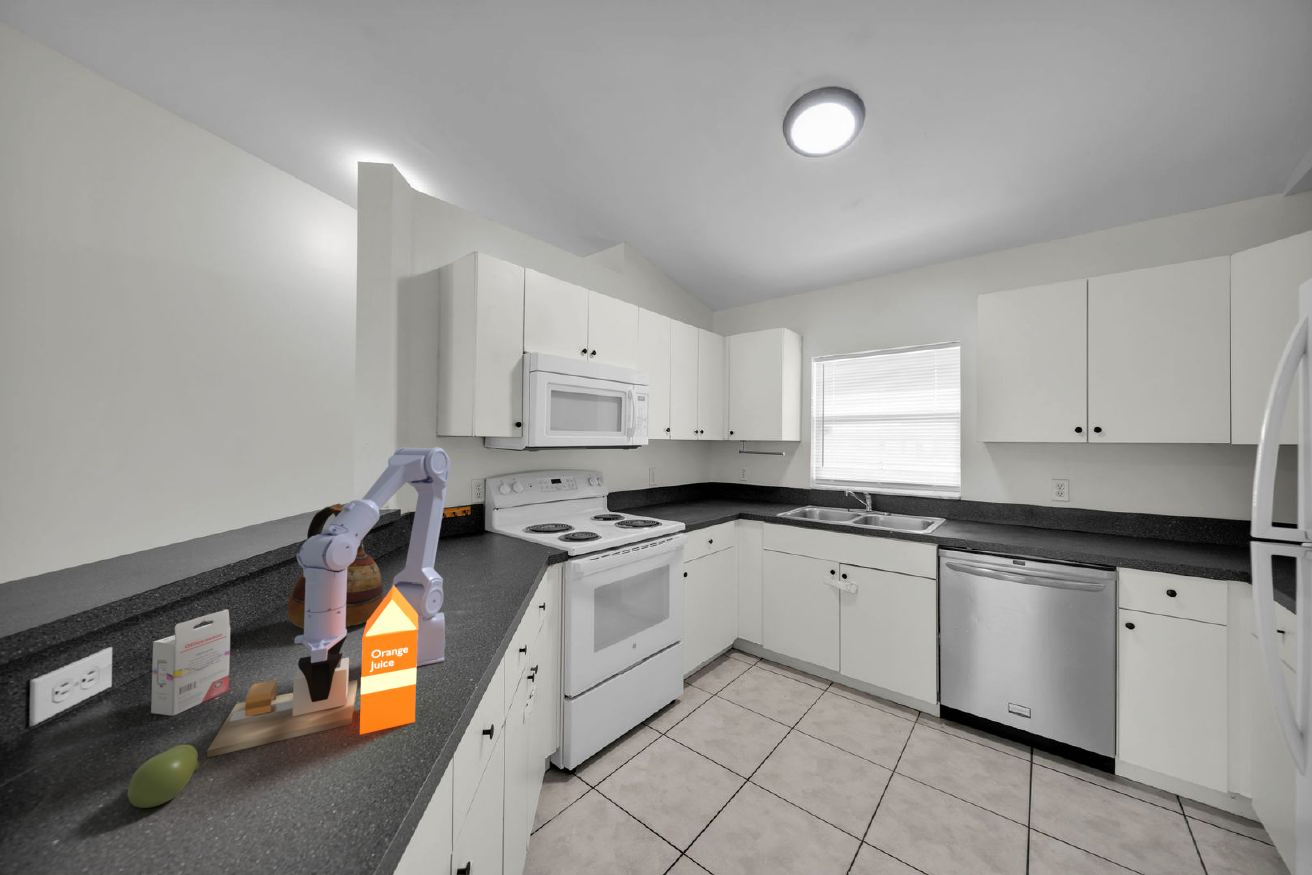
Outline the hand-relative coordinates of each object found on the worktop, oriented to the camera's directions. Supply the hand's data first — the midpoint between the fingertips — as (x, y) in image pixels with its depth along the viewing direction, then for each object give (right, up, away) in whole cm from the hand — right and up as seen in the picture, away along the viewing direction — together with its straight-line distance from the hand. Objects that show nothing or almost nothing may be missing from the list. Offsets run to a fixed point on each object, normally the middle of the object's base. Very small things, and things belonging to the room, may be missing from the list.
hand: (323, 689), depth 78 cm
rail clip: (-7, -1, -4) cm, 8 cm away
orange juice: (+12, -4, -1) cm, 12 cm away
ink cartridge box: (-24, -4, +2) cm, 25 cm away
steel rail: (-3, -3, -2) cm, 5 cm away
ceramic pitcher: (-24, -5, +39) cm, 46 cm away
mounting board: (-3, -3, -2) cm, 5 cm away
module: (0, -2, 0) cm, 2 cm away
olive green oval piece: (-7, -3, -18) cm, 20 cm away
